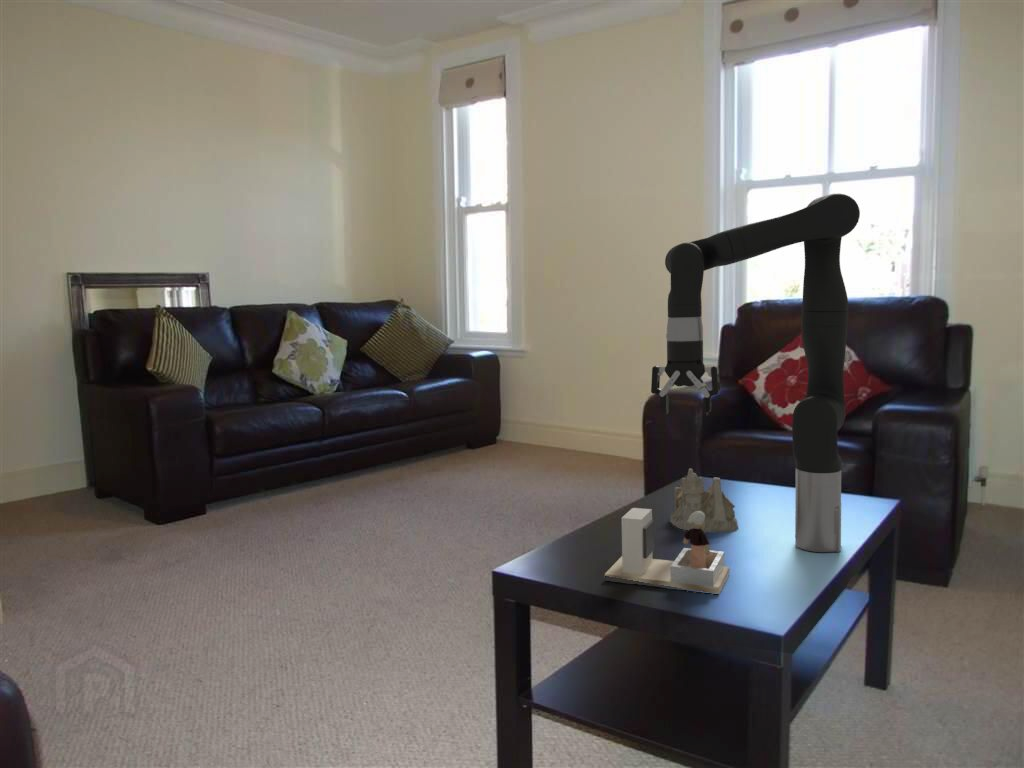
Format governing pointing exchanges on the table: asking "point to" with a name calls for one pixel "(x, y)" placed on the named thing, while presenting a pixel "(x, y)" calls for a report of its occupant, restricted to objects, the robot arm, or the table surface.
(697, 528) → the grandmother figurine
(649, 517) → the white box with panel
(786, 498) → the table surface
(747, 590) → the table surface
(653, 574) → the cream base plate
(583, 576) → the table surface
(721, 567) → the slot walls
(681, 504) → the beige jagged towered block
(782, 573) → the table surface
